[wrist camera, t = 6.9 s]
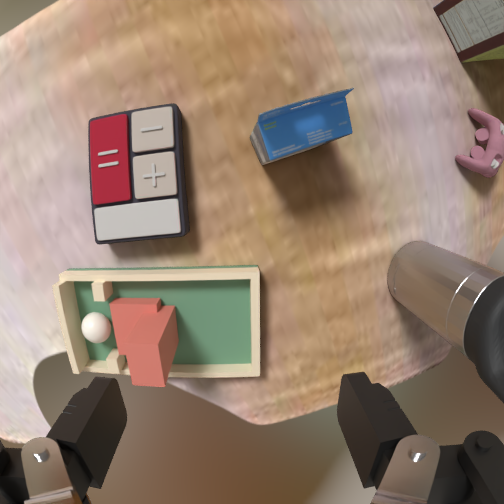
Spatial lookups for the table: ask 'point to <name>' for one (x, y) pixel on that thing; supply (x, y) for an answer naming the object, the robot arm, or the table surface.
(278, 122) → the label tape cartridge
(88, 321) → the ball
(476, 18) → the protein box
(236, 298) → the pitch
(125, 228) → the calculator
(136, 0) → the table surface
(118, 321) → the block
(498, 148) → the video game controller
